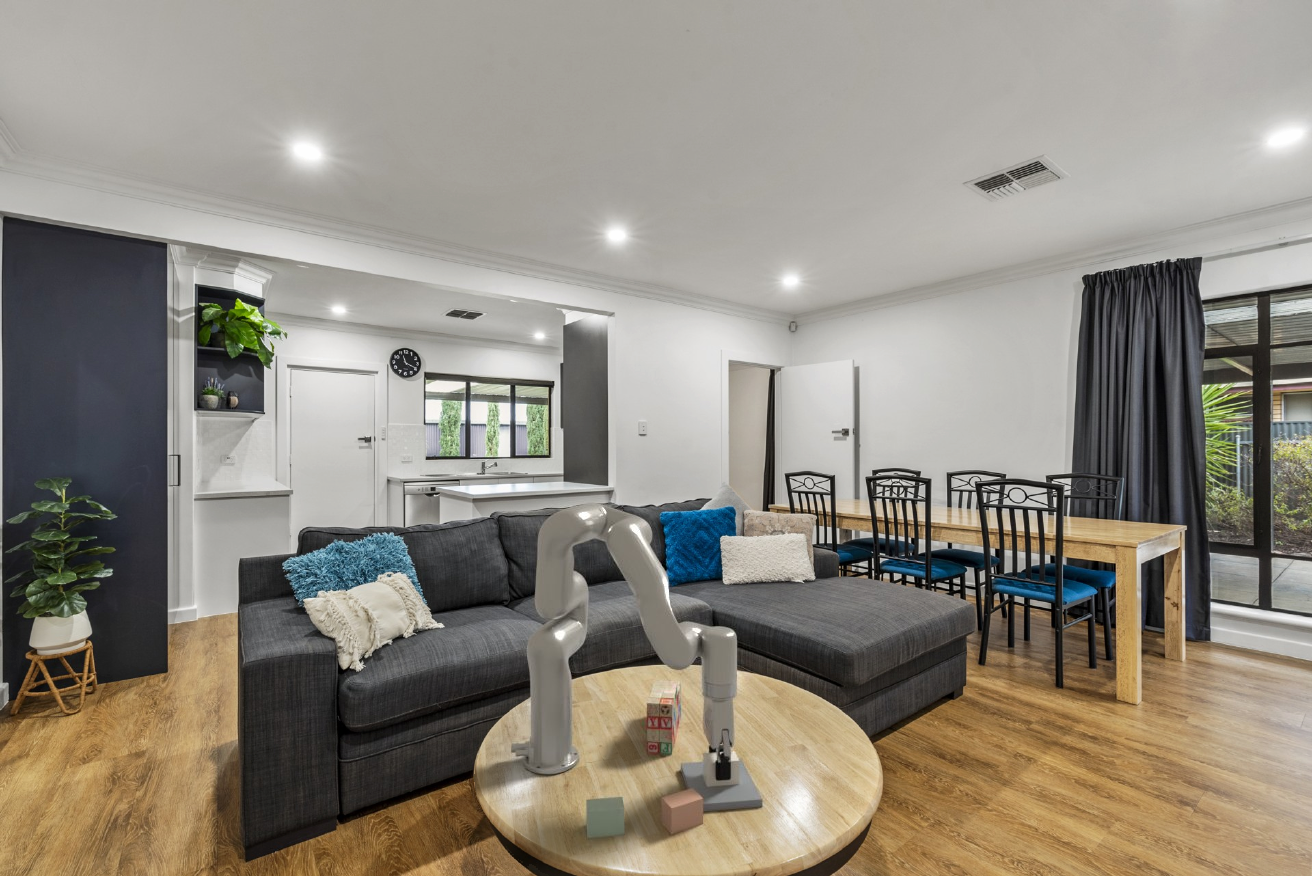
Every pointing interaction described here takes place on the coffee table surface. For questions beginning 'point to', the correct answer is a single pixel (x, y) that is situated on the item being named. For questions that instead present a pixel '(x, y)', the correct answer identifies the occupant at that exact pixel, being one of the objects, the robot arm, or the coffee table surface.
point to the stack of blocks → (663, 717)
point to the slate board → (722, 789)
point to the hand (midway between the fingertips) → (719, 770)
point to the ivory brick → (710, 770)
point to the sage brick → (605, 817)
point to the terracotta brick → (682, 810)
